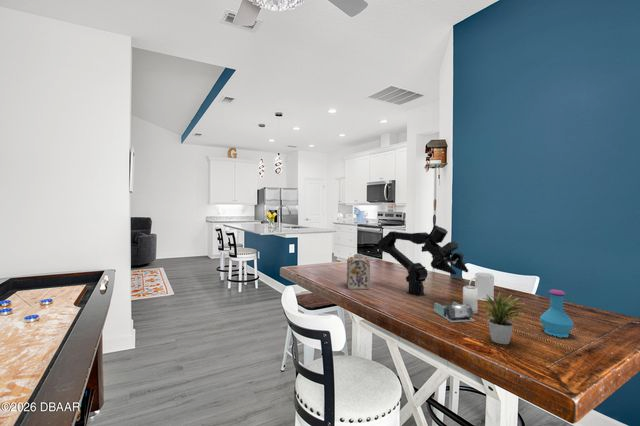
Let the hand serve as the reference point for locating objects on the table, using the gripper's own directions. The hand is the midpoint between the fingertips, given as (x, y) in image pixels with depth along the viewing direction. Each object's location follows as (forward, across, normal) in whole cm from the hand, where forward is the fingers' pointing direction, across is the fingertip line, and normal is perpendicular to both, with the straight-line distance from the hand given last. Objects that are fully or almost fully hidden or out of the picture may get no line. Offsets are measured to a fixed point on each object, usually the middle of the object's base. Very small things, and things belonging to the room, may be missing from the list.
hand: (461, 272), depth 131 cm
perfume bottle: (+37, +2, -5) cm, 37 cm away
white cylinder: (+12, -2, +10) cm, 16 cm away
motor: (+12, -13, +11) cm, 20 cm away
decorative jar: (-35, -17, +40) cm, 55 cm away
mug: (+6, +21, +15) cm, 26 cm away
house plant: (+31, -22, -1) cm, 38 cm away
